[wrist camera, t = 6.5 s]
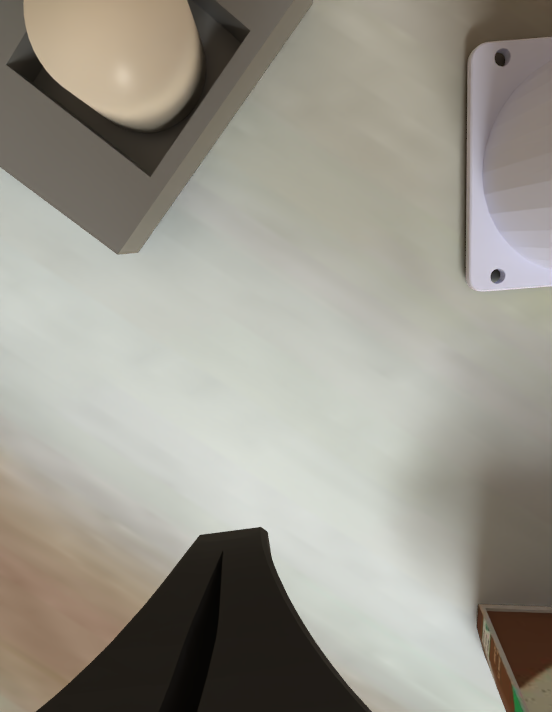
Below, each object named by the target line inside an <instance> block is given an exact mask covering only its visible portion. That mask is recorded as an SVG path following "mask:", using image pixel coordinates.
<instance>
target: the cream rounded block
mask: <svg viewBox="0 0 552 712" xmlns="http://www.w3.org/2000/svg"><path fill="white" fill-rule="evenodd" d="M23 5H24V19H25V26H26V30H27V34H28V37H29V40H30V43H31V45H32V48H33V50H34V52H35V54H36V56H37V57H38V59H39V61H40V62H41V64H42V65H43V67H44V68H45V70H46V71H47V72H48V73H49V74H50V75H51V76H52V78H53V79H54V80H56V81H57V82H58V83H59V84H60V85H61V86H62V87H64V88H65V89H67V90H68V91H69V92H71V93H72V94H73V95H75V96H76V97H77V98H79V99H80V100H82V101H83V102H84V103H86V104H87V105H88V106H90V107H91V108H93V109H94V110H95V111H97V112H98V113H99V114H101V115H102V116H103V117H105V118H106V119H108V120H109V121H111V122H112V123H113V124H115V125H117V126H119V127H121V128H124V129H126V130H129V131H134V132H140V133H152V132H158V131H162V130H165V129H168V128H170V127H172V126H174V125H176V124H177V123H178V122H180V121H181V120H183V119H184V118H185V117H186V116H187V115H188V114H189V113H190V111H191V110H192V109H193V108H194V106H195V104H196V103H197V101H198V99H199V97H200V94H201V92H202V89H203V85H204V81H205V75H206V60H205V53H204V48H203V44H202V41H201V38H200V36H199V33H198V30H197V27H196V24H195V21H194V19H193V16H192V13H191V10H190V7H189V4H188V2H187V0H24V2H23Z"/></svg>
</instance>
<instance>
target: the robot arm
mask: <svg viewBox="0 0 552 712" xmlns="http://www.w3.org/2000/svg"><path fill="white" fill-rule="evenodd" d="M497 52H498V53H502V54H503V55H504V56H505V65H504V66H503V67H502V66H498V65H497V64H496V63H495V59H494V57H495V53H497ZM495 269H498V270H499V271H500V274H501V275H500V279H499V280H498V281H497V282H494V283H493V282H492V281H491V278H490V276H491V273H492V272H493V271H494V270H495ZM466 281H467V284H468V285H469V287H470V288H472V289H474V290H477V291H494V290H508V289H521V288H534V287H547V286H552V37H542V38H529V39H517V40H504V41H492V42H485V43H481V44H480V45H479V46H477V47H476V48H475V49H474V50H473V51H472V52H471V54H470V56H469V58H468V73H467V197H466ZM36 712H372V711H371V710H370V709H369V708H368V707H367V706H366V705H365V704H364V703H363V701H362V700H361V699H360V698H359V697H358V696H357V695H356V694H355V693H354V691H353V690H352V689H351V688H350V687H349V686H348V685H347V683H346V682H345V681H344V680H343V678H342V677H341V676H340V675H339V673H338V672H337V671H336V669H335V668H334V667H333V666H332V664H331V663H330V662H329V660H328V659H327V658H326V656H325V655H324V653H323V652H322V651H321V649H320V648H319V646H318V645H317V644H316V642H315V641H314V639H313V638H312V636H311V635H310V633H309V631H308V630H307V628H306V627H305V625H304V623H303V622H302V620H301V618H300V617H299V615H298V613H297V611H296V610H295V608H294V606H293V604H292V603H291V601H290V599H289V597H288V595H287V593H286V591H285V589H284V587H283V584H282V582H281V580H280V578H279V576H278V574H277V571H276V569H275V566H274V564H273V561H272V557H271V551H270V544H269V538H268V532H267V531H266V530H264V529H263V528H262V527H258V528H250V529H243V530H235V531H227V532H220V533H212V534H204V535H200V536H199V537H198V538H197V539H196V541H195V542H194V543H193V544H192V546H191V547H190V548H189V549H188V551H187V552H186V553H185V555H184V556H183V557H182V559H181V560H180V561H179V562H178V564H177V565H176V566H175V568H174V569H173V570H172V572H171V573H170V574H169V575H168V577H167V578H166V579H165V581H164V582H163V583H162V584H161V585H160V587H159V588H158V589H157V590H156V592H155V593H154V594H153V595H152V597H151V598H150V599H149V600H148V602H147V603H146V604H145V605H144V606H143V608H142V609H141V610H140V611H139V612H138V613H137V614H136V615H135V616H134V618H133V619H132V620H131V621H130V622H129V623H128V624H127V625H126V626H125V628H124V629H123V630H122V631H121V632H120V633H119V634H118V635H117V637H116V638H115V639H114V640H113V641H112V642H111V643H110V644H109V645H108V646H107V647H106V648H105V649H104V650H103V651H102V652H101V653H100V654H99V655H98V656H97V657H96V658H95V659H94V660H93V661H92V662H91V663H90V664H89V665H88V666H87V667H86V668H85V669H84V670H83V671H82V672H81V673H79V674H78V675H77V676H76V677H75V678H74V679H73V680H72V681H71V682H70V683H69V684H68V685H67V686H66V687H64V688H63V689H62V690H61V691H60V692H59V693H58V694H57V695H55V696H54V697H53V698H52V699H51V700H50V701H48V702H47V703H46V704H45V705H43V706H42V707H41V708H40V709H39V710H37V711H36Z"/></svg>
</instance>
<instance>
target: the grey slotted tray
mask: <svg viewBox="0 0 552 712" xmlns="http://www.w3.org/2000/svg"><path fill="white" fill-rule="evenodd" d="M23 2H24V0H0V167H1V168H2V169H4V170H5V171H6V172H8V173H9V174H10V175H12V176H13V177H14V178H16V179H17V180H18V181H20V182H21V183H22V184H24V185H25V186H26V187H28V188H29V189H30V190H32V191H33V192H34V193H36V194H37V195H38V196H40V197H41V198H43V199H44V200H45V201H47V202H48V203H49V204H51V205H52V206H53V207H55V208H56V209H57V210H59V211H60V212H61V213H63V214H64V215H65V216H67V217H68V218H69V219H71V220H72V221H73V222H75V223H76V224H77V225H79V226H80V227H81V228H83V229H84V230H85V231H87V232H88V233H89V234H91V235H92V236H93V237H95V238H96V239H98V240H99V241H100V242H102V243H103V244H104V245H106V246H107V247H108V248H110V249H111V250H112V251H114V252H115V253H116V254H118V255H119V254H129V253H138V252H139V251H140V249H141V248H142V246H143V245H144V244H145V242H146V241H147V239H148V238H149V236H150V235H151V234H152V232H153V231H154V229H155V228H156V226H157V225H158V224H159V222H160V221H161V219H162V218H163V216H164V215H165V214H166V212H167V211H168V209H169V208H170V206H171V205H172V204H173V202H174V201H175V199H176V198H177V196H178V195H179V194H180V192H181V191H182V189H183V188H184V186H185V185H186V184H187V182H188V181H189V179H190V178H191V176H192V175H193V174H194V172H195V171H196V169H197V168H198V166H199V165H200V164H201V162H202V161H203V159H204V158H205V156H206V155H207V154H208V152H209V151H210V149H211V148H212V146H213V145H214V144H215V142H216V141H217V139H218V138H219V136H220V135H221V134H222V132H223V131H224V129H225V128H226V126H227V125H228V124H229V122H230V121H231V119H232V118H233V116H234V115H235V114H236V112H237V111H238V109H239V108H240V106H241V105H242V104H243V102H244V101H245V99H246V98H247V96H248V95H249V94H250V92H251V91H252V89H253V88H254V86H255V85H256V84H257V82H258V81H259V79H260V78H261V76H262V75H263V74H264V72H265V71H266V69H267V68H268V66H269V65H270V64H271V62H272V61H273V59H274V58H275V56H276V55H277V54H278V52H279V51H280V49H281V48H282V46H283V45H284V44H285V42H286V41H287V39H288V38H289V36H290V35H291V34H292V32H293V31H294V29H295V28H296V26H297V25H298V24H299V22H300V21H301V19H302V18H303V16H304V15H305V14H306V12H307V11H308V9H309V8H310V6H311V5H312V3H313V0H187V2H188V4H189V7H190V10H191V13H192V16H193V19H194V21H195V24H196V27H197V30H198V33H199V36H200V38H201V41H202V44H203V48H204V53H205V60H206V75H205V81H204V85H203V89H202V92H201V94H200V97H199V99H198V101H197V103H196V104H195V106H194V108H193V109H192V110H191V111H190V113H189V114H188V115H187V116H186V117H185V118H184V119H183V120H181V121H180V122H178V123H177V124H176V125H174V126H172V127H170V128H168V129H165V130H162V131H158V132H152V133H140V132H134V131H129V130H126V129H124V128H121V127H119V126H117V125H115V124H113V123H112V122H111V121H109V120H108V119H106V118H105V117H103V116H102V115H101V114H99V113H98V112H97V111H95V110H94V109H93V108H91V107H90V106H88V105H87V104H86V103H84V102H83V101H82V100H80V99H79V98H77V97H76V96H75V95H73V94H72V93H71V92H69V91H68V90H67V89H65V88H64V87H62V86H61V85H60V84H59V83H58V82H57V81H56V80H54V79H53V78H52V76H51V75H50V74H49V73H48V72H47V71H46V70H45V68H44V67H43V65H42V64H41V62H40V61H39V59H38V57H37V56H36V54H35V52H34V50H33V48H32V45H31V43H30V40H29V37H28V34H27V30H26V26H25V19H24V5H23Z"/></svg>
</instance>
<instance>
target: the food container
mask: <svg viewBox="0 0 552 712" xmlns="http://www.w3.org/2000/svg"><path fill="white" fill-rule="evenodd" d="M477 630H478V633H479V637H480V640H481V644H482V647H483V651H484V655H485V658H486V660H487V663H488V665H489V668H490V671H491V673H492V676H493V678H494V681H495V684H496V686H497V689H498V691H499V694H500V697H501V699H502V702H503V705H504V707H505V710H506V712H552V607H547V606H519V605H491V604H478V615H477Z"/></svg>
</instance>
